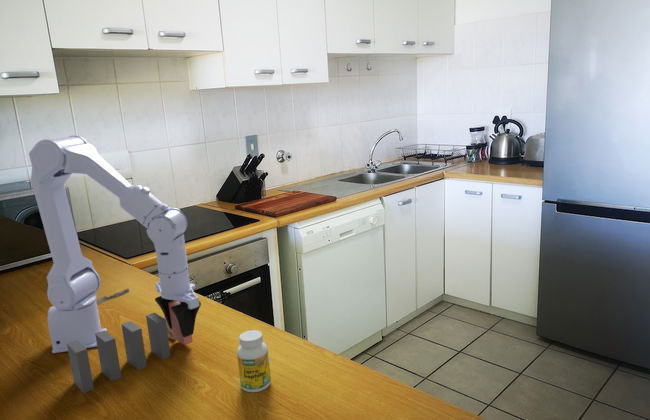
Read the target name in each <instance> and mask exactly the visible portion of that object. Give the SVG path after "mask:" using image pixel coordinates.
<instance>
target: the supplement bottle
mask: <svg viewBox="0 0 650 420" xmlns="http://www.w3.org/2000/svg"><path fill="white" fill-rule="evenodd" d="M238 339H239V340H238V341H239V346H238V348H237V351H236V356H237V357H236V358H237V362H238V363H237V364H238V365H237V366H238V373H239V381H240V383H239V384H240V387H241V389H242V390H243V391H244V392H247V393H259V392H262V391H264V390H266V389H268V387H269V386H270V385H271V383H272V380H271V378H272V377H271V368H270V367H271V366H270V357H269V348H268V345H267V344H266V343H265V342H264V338H263V332H262V331H260V330H257V329H256V330H255V329H254V330H253V329H252V330H247V331H243V332H242V333H240V335H239V337H238Z"/></svg>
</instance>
